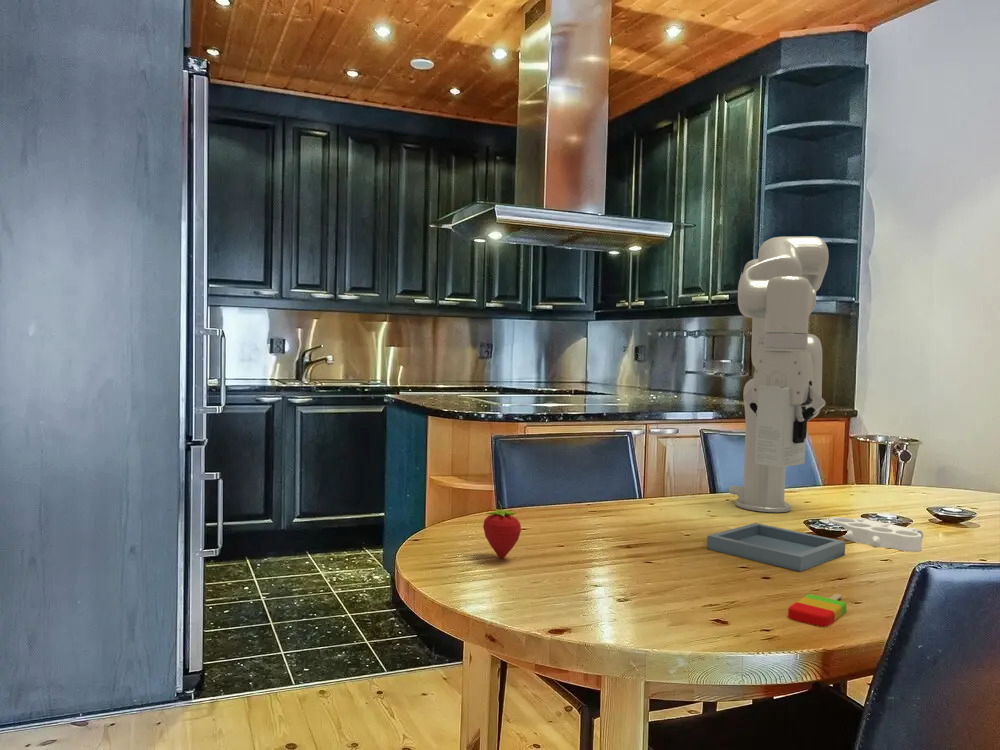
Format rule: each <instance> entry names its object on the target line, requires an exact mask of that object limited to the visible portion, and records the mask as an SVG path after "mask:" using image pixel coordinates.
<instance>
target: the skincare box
mask: <svg viewBox="0 0 1000 750" xmlns="http://www.w3.org/2000/svg"><path fill="white" fill-rule="evenodd" d="M807 406H808V405H806V407H807ZM794 407H795V406H791V405H790V388H789V387H780V386H758V407H757V424H756V443H755V463H756V464H762V465H768V466H773V467H780V468H783V467H786V468H787V467H788V468H789V467H793V466H794V467H795V466H799V465H804V464H805V462H806V461H805V459H806V443H807V442H806V441H807V440H806V439H807V437H806V438H805V439H804V443H794V442H793V428H794V422H795V421H797V417H796V414H795V411H794Z"/></svg>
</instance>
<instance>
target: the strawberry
mask: <svg viewBox="0 0 1000 750" xmlns="http://www.w3.org/2000/svg"><path fill="white" fill-rule="evenodd" d="M497 501H498V504H499V505H500V509H497V508H496V509H495V511H490V512H486V513H485V514H486V515H487V517H485V518H484V520H483V525H482V528H483V531H484V535H485V538H486V540H487V542H488V543H489V545H490V547H491V548H492V550H493V552H495V554H496V556H497V557H498V558H499V559H504V558H506V557H507V555H508V554H509V553H510V551H511V550H512V549H513V548H514V547H515V545H516V544H517V542H518V541H519V538H520V534H521V532H522V525H521V522H520V521H519V520H518V519H517V518H516V517H514V515H517V512H513V510H512V509H508V510H502V507H503V506H502V505H501V503H500V501H499V500H497Z"/></svg>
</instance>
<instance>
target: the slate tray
mask: <svg viewBox="0 0 1000 750" xmlns="http://www.w3.org/2000/svg"><path fill="white" fill-rule="evenodd" d="M706 541H707V542H706V549H707V550H711V551H715V552H719V553H723V554H727V555H731V556H735V557H739V558H743V559H748V560H752V561H755V562H759V563H763V564H767V565H771V566H777V567H780V568H784V569H789V570H791V571H797V572H803V571H806V570H809V569H811V568H814V567H816V566H819V565H821V564H824V563H827V562H829V561H832V560H834V559H837V558H840V557H843V556H846V541H844V540H840V539H835V538H830V537H827V536H826V537H825V536H820V535H816V534H811V533H806V532H802V531H801V532H800V531H796V530H791V529H786V528H782V527H777V526H772V525H767V524H762V523H757V522H754V523H749V524H745V525H742V526H739V527H735V528H730V529H728V530H723V531H720V532H716V533H711V534H709V535H707V538H706Z"/></svg>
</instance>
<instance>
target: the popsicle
mask: <svg viewBox="0 0 1000 750" xmlns="http://www.w3.org/2000/svg"><path fill="white" fill-rule="evenodd" d="M842 597H843V595H842V594H840V593H834V594H833V595H832V596H831V597H824V596H820V595H816V594H811V593H808V594H806V595H804V596H803V597H802V598H800V599H799V600H798V601H796V602H794V603H793V604H791V605H790V606H789V607H788V610H787V616H788V619H790V618H791V620H792V621H796V620H797V621H796V622H800V621H801V622H800V623H804V622H805V624H808V623H809V624H808V625H811V624H814V625H813V626H815V625H819V626H818V627H821V626H827V627H829V626H831V625H832V624H833V623H835V622H836V621H837V620H838V619H840V618H841V617H842V616H843V615H845V614H846V613H847V603H846V602H845V601H842V600H840V599H841V598H842ZM845 612H846V613H845ZM841 615H842V616H841ZM840 616H841V617H840ZM837 618H838V619H837ZM836 619H837V620H836ZM835 620H836V621H835ZM831 623H832V624H831ZM830 624H831V625H830ZM828 625H829V626H828Z"/></svg>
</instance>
